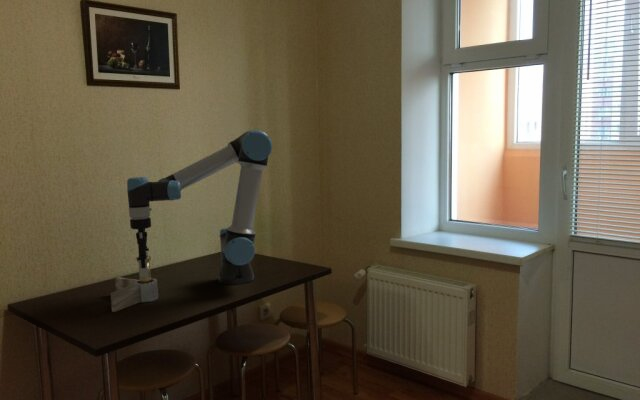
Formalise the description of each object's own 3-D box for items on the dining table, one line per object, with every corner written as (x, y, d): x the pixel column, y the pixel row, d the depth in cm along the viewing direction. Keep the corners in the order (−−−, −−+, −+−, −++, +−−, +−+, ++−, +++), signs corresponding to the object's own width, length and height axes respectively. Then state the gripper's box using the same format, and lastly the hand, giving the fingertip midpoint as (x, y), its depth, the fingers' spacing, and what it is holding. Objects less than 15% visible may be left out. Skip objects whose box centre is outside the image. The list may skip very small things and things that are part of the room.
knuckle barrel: (162, 296, 206) (161, 279, 205) (146, 303, 198) (145, 285, 197) (147, 294, 209) (145, 277, 209) (130, 300, 202) (129, 283, 201)
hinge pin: (156, 297, 205) (153, 256, 203) (146, 301, 200) (143, 259, 198) (147, 296, 207) (143, 255, 205) (136, 299, 203) (133, 258, 201)
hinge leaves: (149, 298, 204) (147, 281, 203) (114, 312, 189) (112, 293, 188) (118, 293, 212) (117, 277, 211) (83, 306, 197) (81, 288, 196)
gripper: (150, 221, 189) (154, 278, 192) (150, 212, 213) (154, 263, 215) (128, 223, 187) (133, 281, 190) (131, 214, 211) (135, 265, 213)
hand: (144, 272), depth 202 cm, fingers open, 13 cm apart
